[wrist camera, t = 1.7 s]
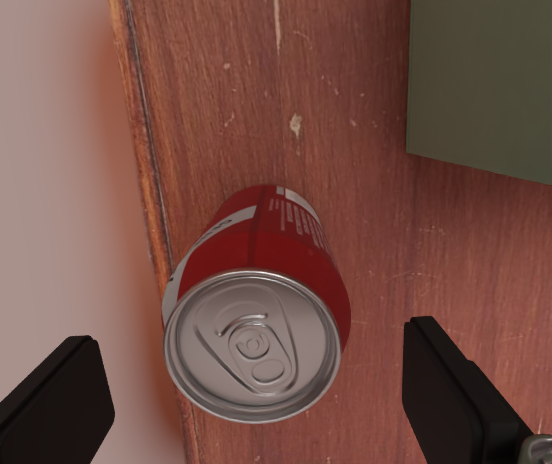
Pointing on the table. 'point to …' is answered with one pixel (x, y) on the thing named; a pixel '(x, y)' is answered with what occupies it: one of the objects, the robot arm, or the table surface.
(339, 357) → the soda can
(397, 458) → the table surface
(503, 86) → the carton
